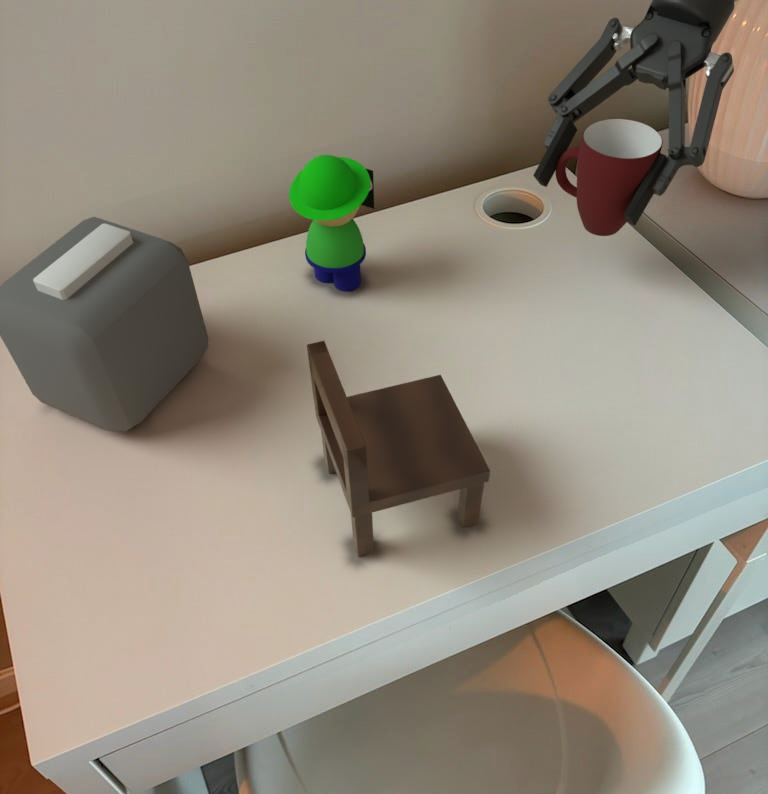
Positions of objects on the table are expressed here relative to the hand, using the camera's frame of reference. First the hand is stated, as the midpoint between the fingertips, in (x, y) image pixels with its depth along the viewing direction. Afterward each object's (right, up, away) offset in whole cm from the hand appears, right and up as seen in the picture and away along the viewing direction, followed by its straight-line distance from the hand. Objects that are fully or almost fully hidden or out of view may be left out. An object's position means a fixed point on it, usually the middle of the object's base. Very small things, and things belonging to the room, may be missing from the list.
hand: (583, 200), depth 80 cm
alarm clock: (-48, -20, 0) cm, 52 cm away
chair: (-20, -32, -9) cm, 38 cm away
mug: (+2, -1, +5) cm, 5 cm away
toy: (-27, -5, +10) cm, 29 cm away
